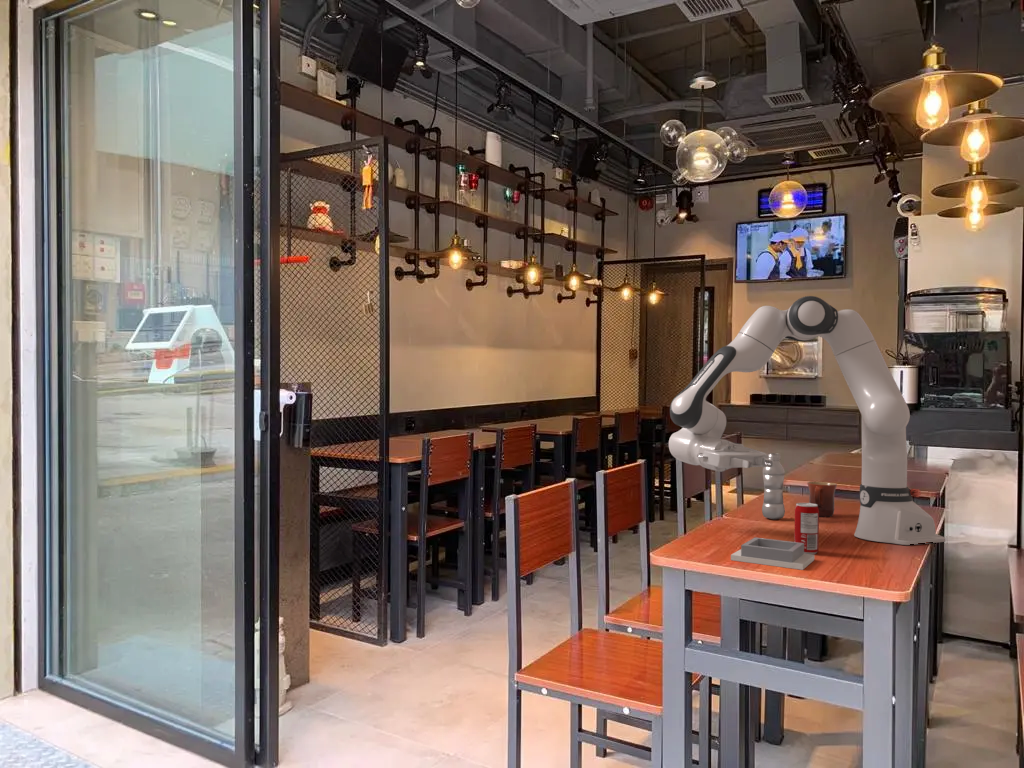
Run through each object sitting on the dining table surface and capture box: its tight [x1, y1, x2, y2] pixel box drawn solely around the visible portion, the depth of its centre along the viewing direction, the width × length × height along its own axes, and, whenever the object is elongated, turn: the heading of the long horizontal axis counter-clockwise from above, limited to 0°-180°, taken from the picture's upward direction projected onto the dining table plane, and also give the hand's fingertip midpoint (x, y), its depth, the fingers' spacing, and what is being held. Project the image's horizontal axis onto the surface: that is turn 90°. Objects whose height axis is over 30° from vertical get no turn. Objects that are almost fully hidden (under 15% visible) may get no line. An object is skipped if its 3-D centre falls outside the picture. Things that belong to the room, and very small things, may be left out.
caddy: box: [730, 537, 815, 571], centre depth 179 cm, size 12×16×4 cm
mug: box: [806, 481, 838, 518], centre depth 242 cm, size 12×9×10 cm
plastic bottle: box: [761, 452, 786, 520], centre depth 236 cm, size 6×7×20 cm
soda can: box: [793, 502, 820, 555], centre depth 188 cm, size 6×6×12 cm
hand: (760, 464), depth 199 cm, fingers open, 8 cm apart
